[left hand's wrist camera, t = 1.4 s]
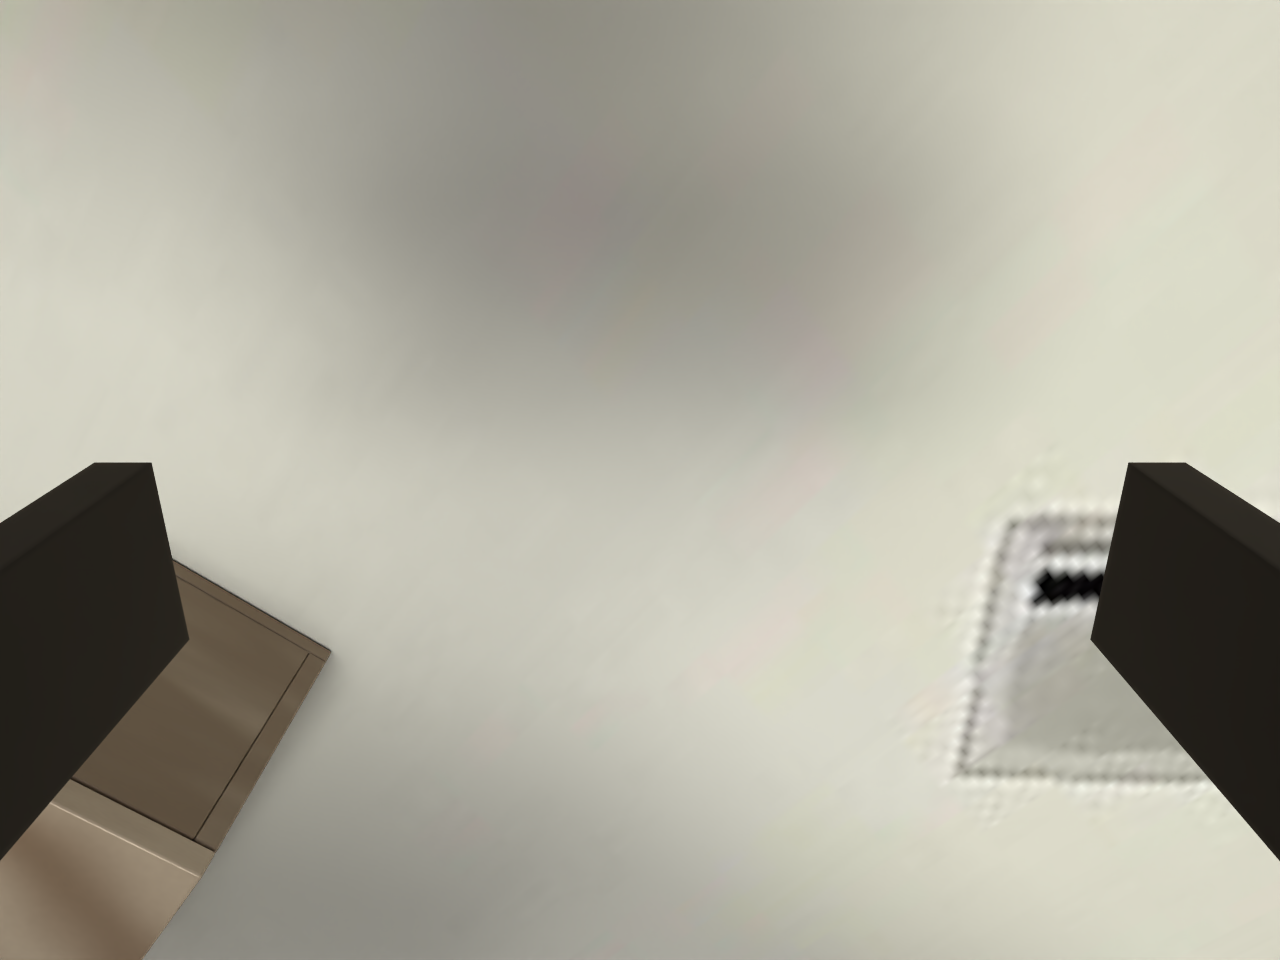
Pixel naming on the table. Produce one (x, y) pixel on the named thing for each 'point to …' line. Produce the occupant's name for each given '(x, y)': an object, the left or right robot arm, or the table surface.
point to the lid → (93, 881)
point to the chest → (207, 717)
